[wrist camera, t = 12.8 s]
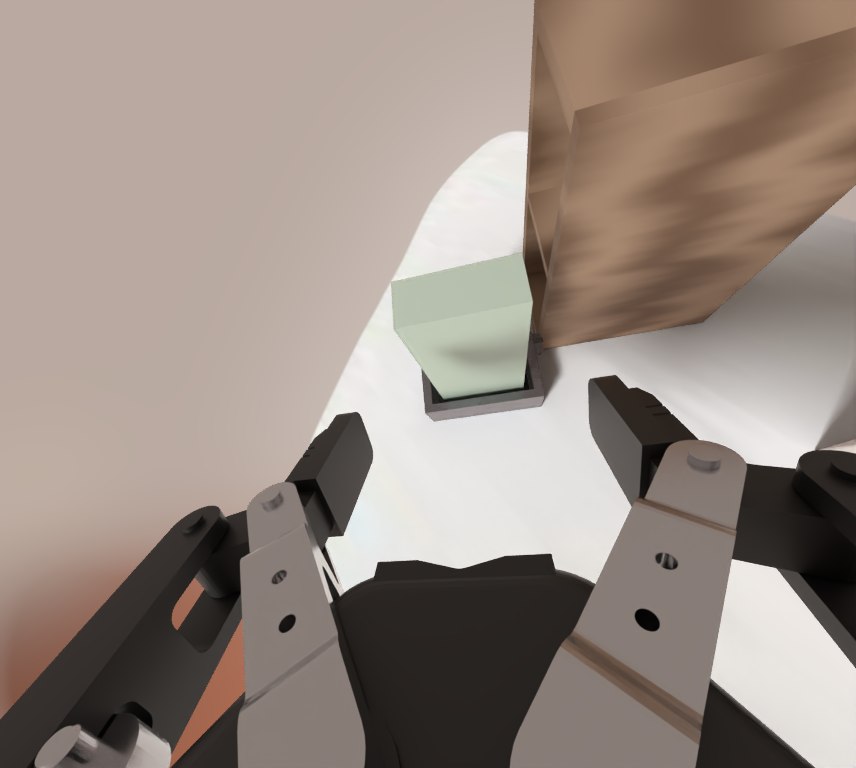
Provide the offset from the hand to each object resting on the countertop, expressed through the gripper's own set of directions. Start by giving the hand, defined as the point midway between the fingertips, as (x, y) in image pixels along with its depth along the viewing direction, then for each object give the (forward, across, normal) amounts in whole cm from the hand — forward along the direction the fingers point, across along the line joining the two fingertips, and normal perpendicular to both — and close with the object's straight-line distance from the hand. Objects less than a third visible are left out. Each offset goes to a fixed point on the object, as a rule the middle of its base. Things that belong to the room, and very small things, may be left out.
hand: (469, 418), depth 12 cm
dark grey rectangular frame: (+15, 0, +6) cm, 16 cm away
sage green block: (+15, 0, +6) cm, 16 cm away
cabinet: (+19, -11, +2) cm, 22 cm away
